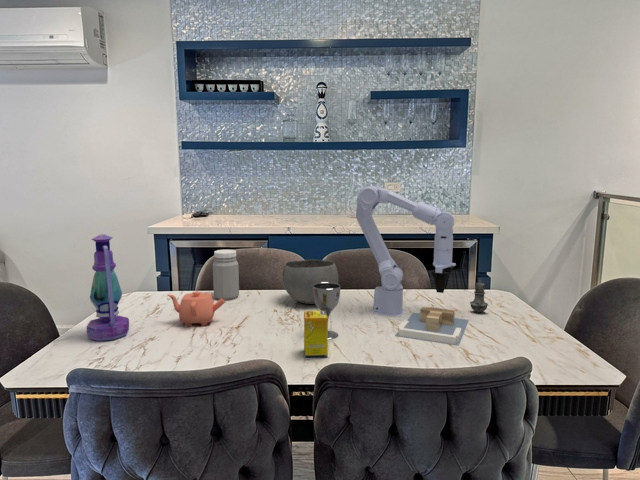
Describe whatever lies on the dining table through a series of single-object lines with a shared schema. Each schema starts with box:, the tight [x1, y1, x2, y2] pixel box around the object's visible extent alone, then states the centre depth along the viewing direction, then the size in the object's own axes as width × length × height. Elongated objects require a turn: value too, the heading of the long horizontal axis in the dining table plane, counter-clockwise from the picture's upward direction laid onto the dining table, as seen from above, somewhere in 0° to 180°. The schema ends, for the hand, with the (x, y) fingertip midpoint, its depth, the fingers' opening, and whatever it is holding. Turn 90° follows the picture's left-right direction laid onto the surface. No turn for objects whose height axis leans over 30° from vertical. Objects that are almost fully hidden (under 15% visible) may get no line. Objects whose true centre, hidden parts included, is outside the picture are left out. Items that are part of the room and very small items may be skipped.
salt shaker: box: [469, 279, 489, 314], centre depth 152 cm, size 6×6×12 cm
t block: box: [419, 306, 455, 332], centre depth 139 cm, size 10×10×4 cm
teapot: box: [167, 290, 226, 327], centre depth 143 cm, size 14×12×10 cm
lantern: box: [86, 233, 130, 342], centre depth 130 cm, size 13×12×30 cm
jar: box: [212, 248, 240, 301], centre depth 172 cm, size 10×10×18 cm
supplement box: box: [303, 310, 329, 359], centre depth 119 cm, size 6×6×11 cm
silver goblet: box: [313, 282, 341, 340], centre depth 132 cm, size 8×8×15 cm
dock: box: [397, 319, 462, 345], centre depth 131 cm, size 17×8×2 cm, turn 66°
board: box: [394, 312, 470, 346], centre depth 138 cm, size 18×24×1 cm
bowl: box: [282, 258, 339, 305], centre depth 166 cm, size 20×20×15 cm
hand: (441, 290), depth 147 cm, fingers open, 5 cm apart
